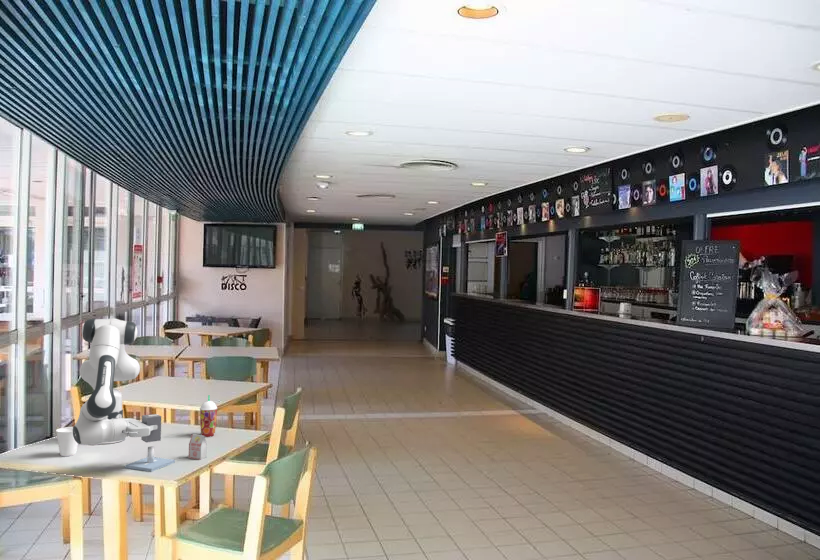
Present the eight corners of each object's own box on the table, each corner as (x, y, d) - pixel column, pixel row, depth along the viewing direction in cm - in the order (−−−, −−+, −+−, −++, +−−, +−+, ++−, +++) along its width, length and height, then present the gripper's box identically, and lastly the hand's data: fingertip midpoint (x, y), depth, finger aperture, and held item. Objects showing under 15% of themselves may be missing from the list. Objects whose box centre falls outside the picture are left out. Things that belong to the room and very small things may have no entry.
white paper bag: (194, 455, 278) (195, 433, 278) (206, 457, 275) (207, 434, 275) (188, 457, 274) (189, 434, 274) (200, 459, 272) (201, 436, 272)
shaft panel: (125, 468, 257) (125, 449, 257) (149, 459, 270) (149, 441, 270) (151, 471, 253) (152, 453, 253) (174, 462, 266) (175, 444, 266)
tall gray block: (146, 442, 258) (147, 417, 258) (141, 439, 262) (142, 414, 262) (160, 440, 261) (161, 415, 262) (155, 437, 266) (156, 413, 266)
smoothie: (209, 432, 320) (210, 393, 320) (220, 435, 315) (221, 395, 315) (195, 435, 313) (196, 395, 313) (205, 438, 308) (207, 397, 308)
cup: (86, 453, 277) (86, 428, 277) (67, 459, 268) (68, 433, 268) (68, 450, 280) (69, 425, 280) (49, 456, 271) (50, 430, 271)
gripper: (127, 426, 245) (163, 422, 255) (110, 417, 261) (145, 413, 270) (127, 442, 245) (162, 437, 255) (110, 432, 261) (144, 428, 270)
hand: (153, 425), depth 262 cm, fingers closed on tall gray block, 6 cm apart
